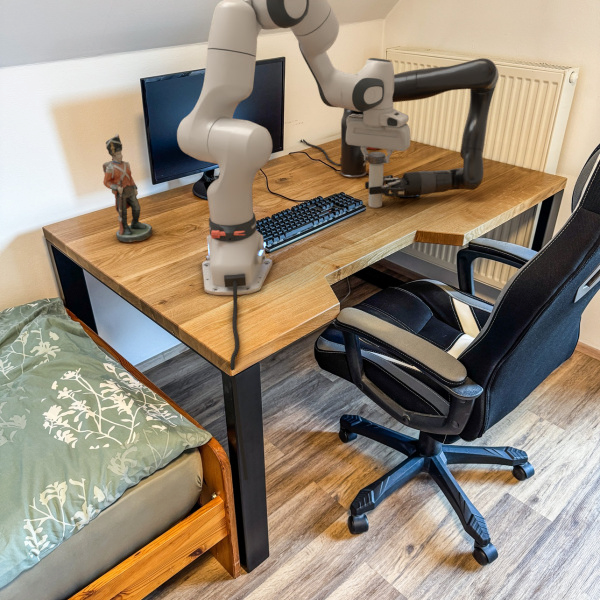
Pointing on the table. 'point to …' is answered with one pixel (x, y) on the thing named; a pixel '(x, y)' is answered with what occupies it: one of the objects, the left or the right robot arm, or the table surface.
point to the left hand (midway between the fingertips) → (376, 161)
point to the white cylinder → (375, 184)
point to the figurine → (124, 194)
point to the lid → (376, 157)
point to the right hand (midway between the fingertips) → (367, 188)
